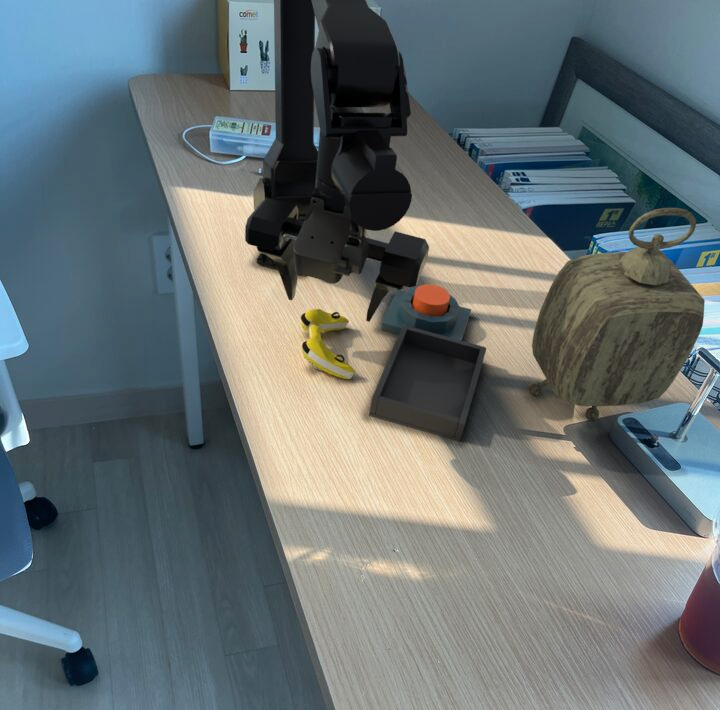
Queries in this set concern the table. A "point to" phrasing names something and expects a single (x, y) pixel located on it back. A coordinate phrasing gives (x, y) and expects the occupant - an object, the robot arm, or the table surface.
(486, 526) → the table surface
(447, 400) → the tray
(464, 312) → the dock switch
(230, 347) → the table surface
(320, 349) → the yellow curved piece
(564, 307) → the tabletop clock
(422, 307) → the button
